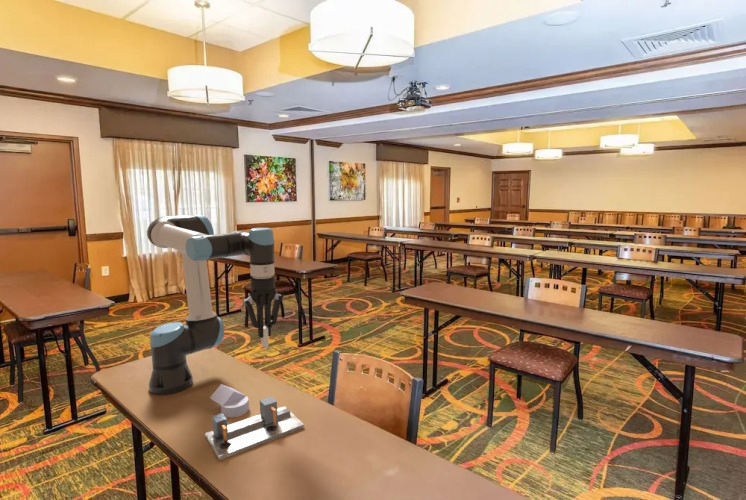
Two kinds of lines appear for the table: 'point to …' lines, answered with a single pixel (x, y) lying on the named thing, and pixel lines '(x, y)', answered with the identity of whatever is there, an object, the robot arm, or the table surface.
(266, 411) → the slider
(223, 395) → the wedge on round base
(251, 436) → the bolt plate
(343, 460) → the table surface
